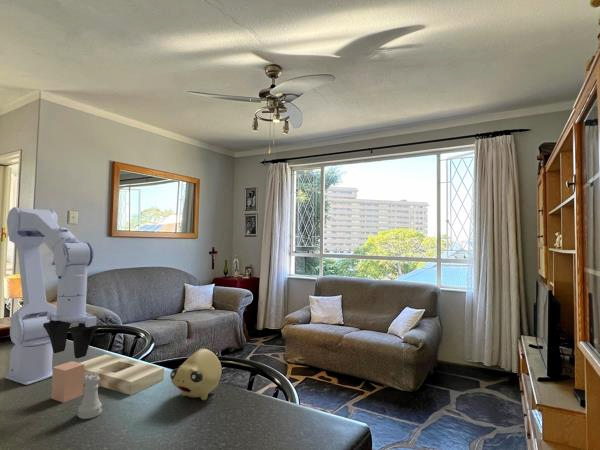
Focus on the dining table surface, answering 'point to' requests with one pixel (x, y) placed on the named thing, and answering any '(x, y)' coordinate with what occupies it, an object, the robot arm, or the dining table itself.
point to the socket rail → (123, 373)
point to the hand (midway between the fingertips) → (69, 354)
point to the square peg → (67, 381)
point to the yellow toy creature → (198, 374)
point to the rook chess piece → (90, 398)
